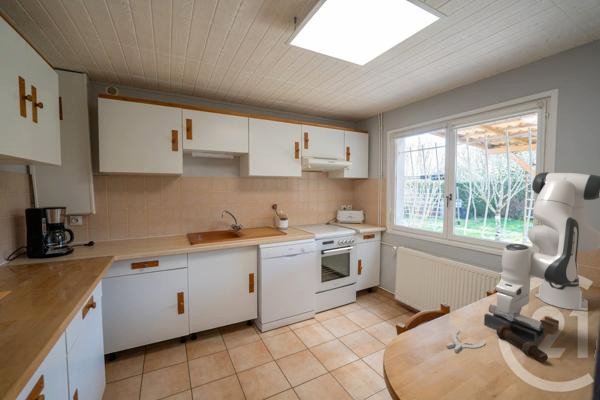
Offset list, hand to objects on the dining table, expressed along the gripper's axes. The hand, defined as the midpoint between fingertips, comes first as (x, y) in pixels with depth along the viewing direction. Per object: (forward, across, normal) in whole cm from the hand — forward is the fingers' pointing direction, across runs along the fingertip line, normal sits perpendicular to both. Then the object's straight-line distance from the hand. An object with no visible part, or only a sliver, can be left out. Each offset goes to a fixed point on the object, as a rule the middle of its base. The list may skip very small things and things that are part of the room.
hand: (513, 318), depth 100 cm
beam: (+5, -14, 0) cm, 15 cm away
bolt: (+6, +11, +6) cm, 14 cm away
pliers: (+6, +27, -6) cm, 28 cm away
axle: (-1, 0, 0) cm, 1 cm away
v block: (+5, 0, 0) cm, 5 cm away
